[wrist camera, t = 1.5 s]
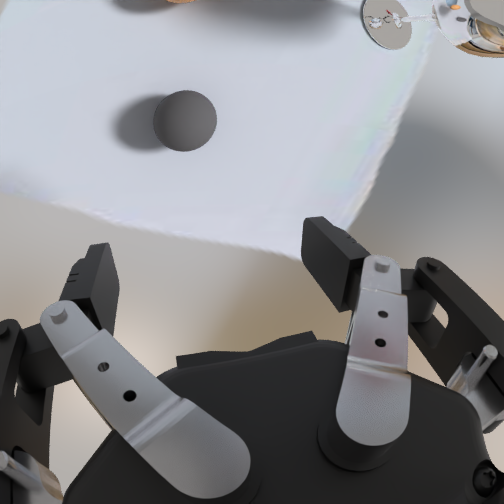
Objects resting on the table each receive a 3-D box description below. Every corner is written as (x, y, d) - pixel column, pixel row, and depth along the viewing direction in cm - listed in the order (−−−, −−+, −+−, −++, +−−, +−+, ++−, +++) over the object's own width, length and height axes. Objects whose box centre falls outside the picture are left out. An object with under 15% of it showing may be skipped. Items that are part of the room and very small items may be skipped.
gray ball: (153, 93, 24) (149, 94, 20) (211, 88, 25) (221, 88, 21) (157, 148, 27) (154, 161, 23) (213, 142, 28) (222, 154, 24)
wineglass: (350, -2, 22) (504, -27, 6) (397, -10, 22) (537, -18, 6) (376, 57, 27) (532, 76, 10) (418, 44, 27) (557, 64, 10)
